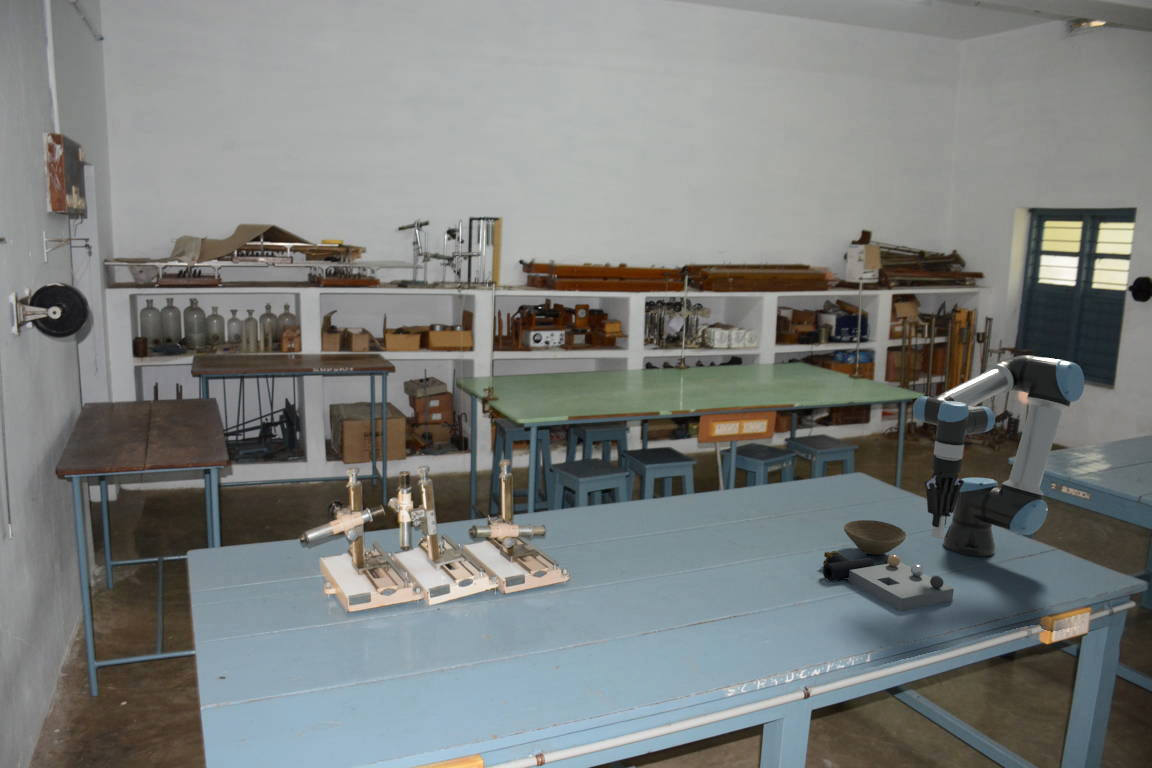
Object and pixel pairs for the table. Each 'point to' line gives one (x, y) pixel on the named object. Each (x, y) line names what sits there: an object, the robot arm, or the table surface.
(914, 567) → the steel ball
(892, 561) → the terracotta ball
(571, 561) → the table surface
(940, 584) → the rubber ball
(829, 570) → the pipe connector
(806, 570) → the table surface
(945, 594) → the slate board
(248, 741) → the table surface
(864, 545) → the bowl
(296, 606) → the table surface
